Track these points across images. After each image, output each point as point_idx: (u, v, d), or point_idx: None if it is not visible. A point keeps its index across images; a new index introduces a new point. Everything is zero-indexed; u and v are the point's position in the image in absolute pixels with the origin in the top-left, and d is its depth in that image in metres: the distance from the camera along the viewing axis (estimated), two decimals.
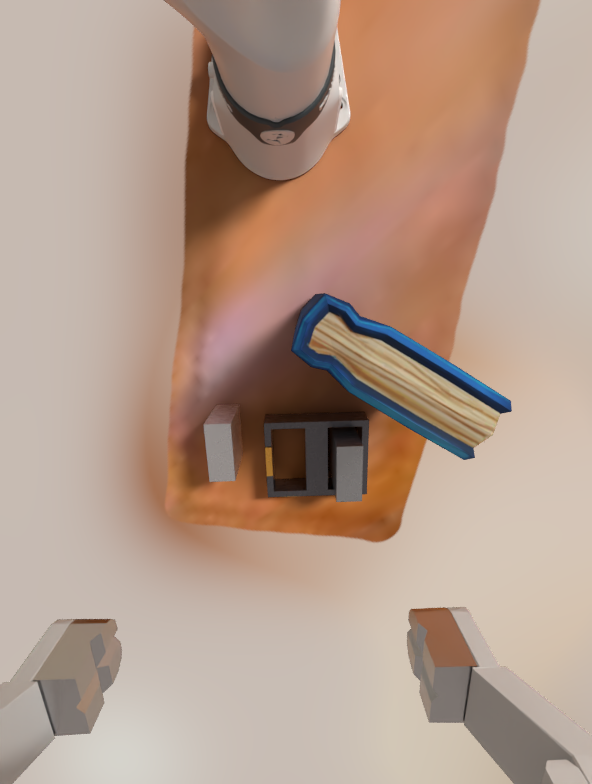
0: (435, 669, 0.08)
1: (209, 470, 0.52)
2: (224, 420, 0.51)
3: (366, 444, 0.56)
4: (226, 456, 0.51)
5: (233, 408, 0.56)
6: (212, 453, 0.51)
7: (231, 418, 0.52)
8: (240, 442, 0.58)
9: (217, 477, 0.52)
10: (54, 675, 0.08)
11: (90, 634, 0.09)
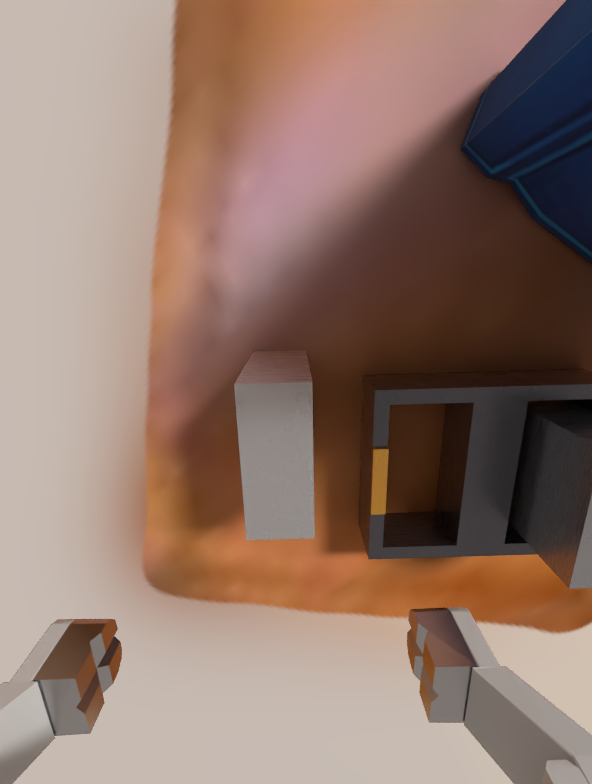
0: (435, 669, 0.08)
1: (247, 511, 0.19)
2: (291, 376, 0.18)
3: None
4: (294, 474, 0.19)
5: (296, 355, 0.24)
6: (255, 467, 0.18)
7: (306, 372, 0.19)
8: None
9: (267, 529, 0.20)
10: (54, 675, 0.08)
11: (90, 634, 0.09)
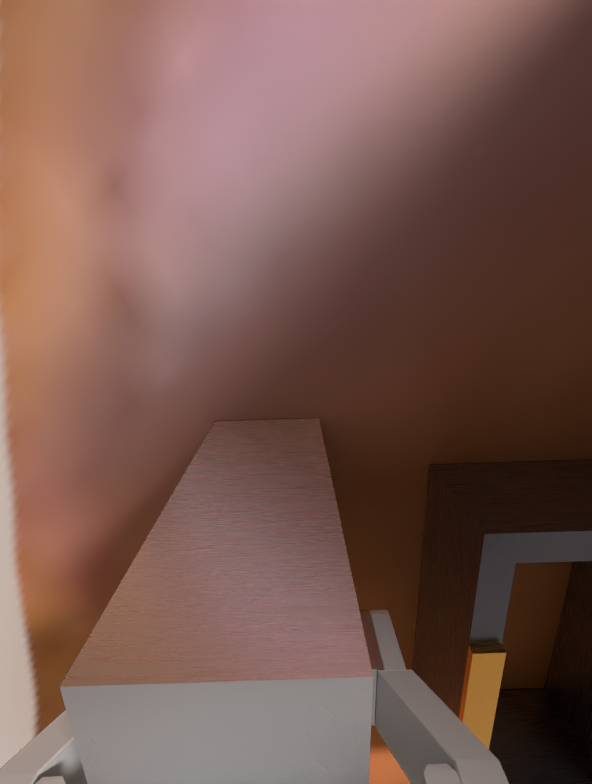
0: None
1: None
2: (290, 599, 0.05)
3: None
4: None
5: (301, 443, 0.11)
6: None
7: (335, 553, 0.06)
8: None
9: None
10: None
11: None
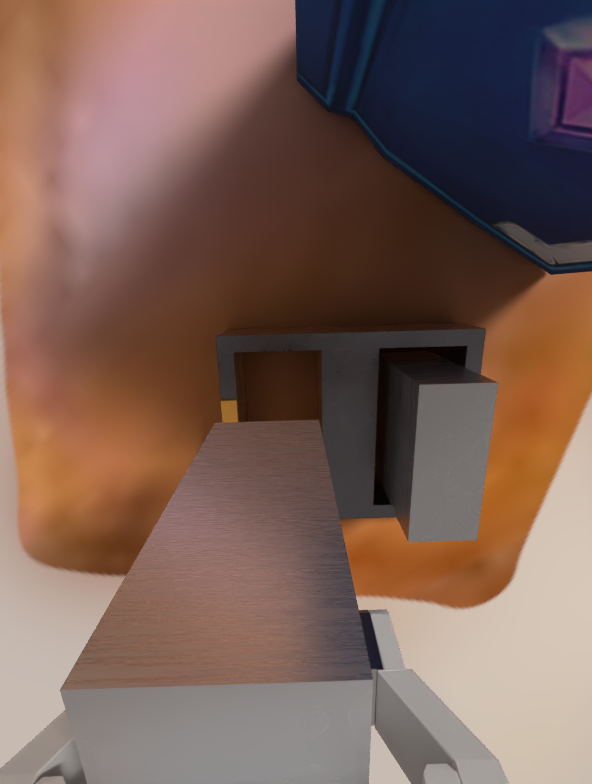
0: None
1: None
2: (291, 602, 0.05)
3: None
4: None
5: (301, 444, 0.11)
6: None
7: (335, 555, 0.06)
8: None
9: None
10: None
11: None
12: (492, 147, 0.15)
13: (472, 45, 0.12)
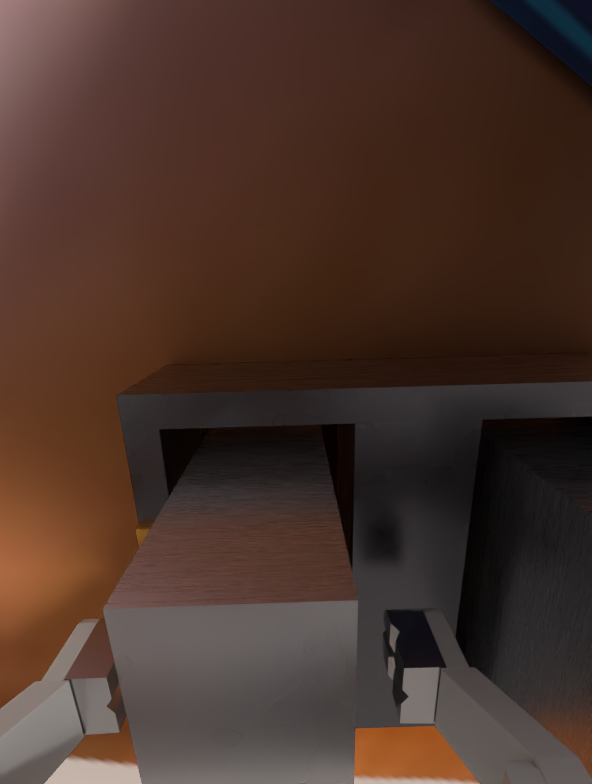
0: (404, 670, 0.08)
1: None
2: (291, 548, 0.06)
3: None
4: None
5: (300, 428, 0.12)
6: None
7: (329, 515, 0.07)
8: None
9: None
10: (85, 674, 0.08)
11: None
12: None
13: None
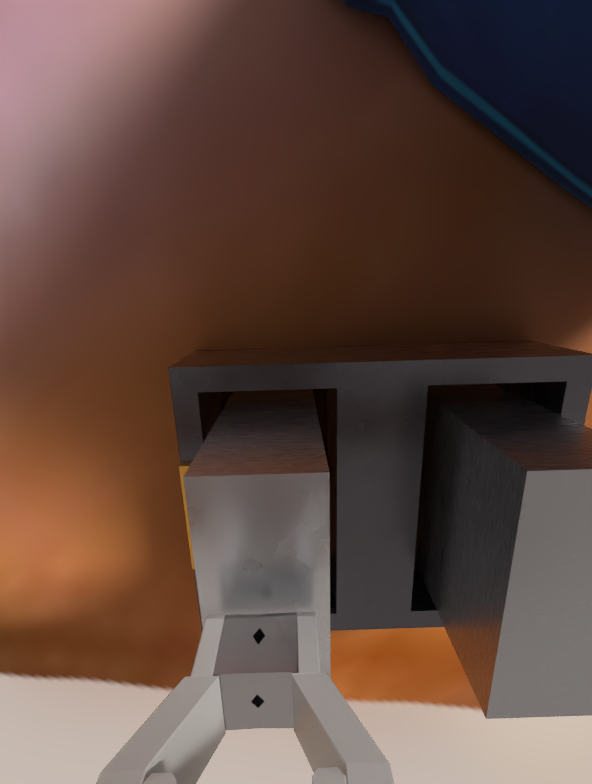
0: (255, 675, 0.08)
1: None
2: (291, 453, 0.10)
3: None
4: None
5: (298, 397, 0.16)
6: (227, 613, 0.10)
7: (315, 440, 0.11)
8: None
9: None
10: (232, 669, 0.08)
11: (249, 629, 0.09)
12: None
13: None
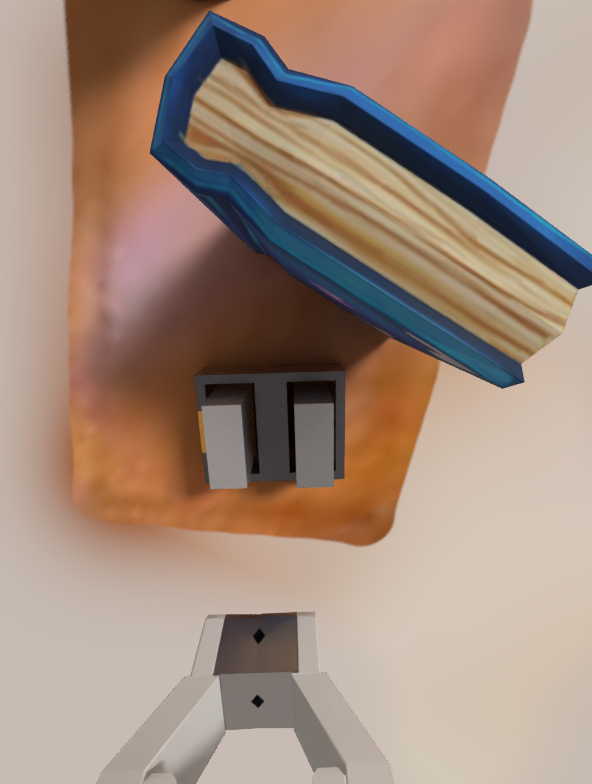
0: (255, 675, 0.08)
1: (210, 473, 0.36)
2: (232, 401, 0.35)
3: (342, 407, 0.39)
4: (234, 452, 0.35)
5: (243, 386, 0.41)
6: (214, 448, 0.35)
7: (241, 398, 0.36)
8: (252, 434, 0.42)
9: (221, 483, 0.36)
10: (232, 669, 0.08)
11: (250, 629, 0.09)
12: (322, 292, 0.32)
13: (290, 270, 0.28)
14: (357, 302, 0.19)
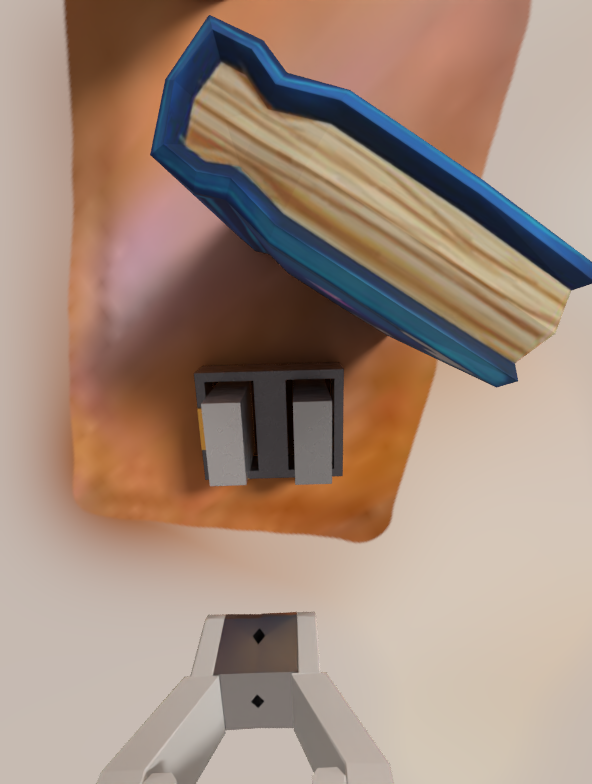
0: (255, 675, 0.08)
1: (209, 470, 0.36)
2: (231, 399, 0.35)
3: (340, 404, 0.40)
4: (233, 450, 0.36)
5: (242, 384, 0.41)
6: (213, 446, 0.36)
7: (241, 396, 0.36)
8: (251, 432, 0.43)
9: (221, 480, 0.37)
10: (232, 669, 0.08)
11: (249, 629, 0.09)
12: (320, 291, 0.33)
13: (289, 269, 0.29)
14: (354, 302, 0.19)
